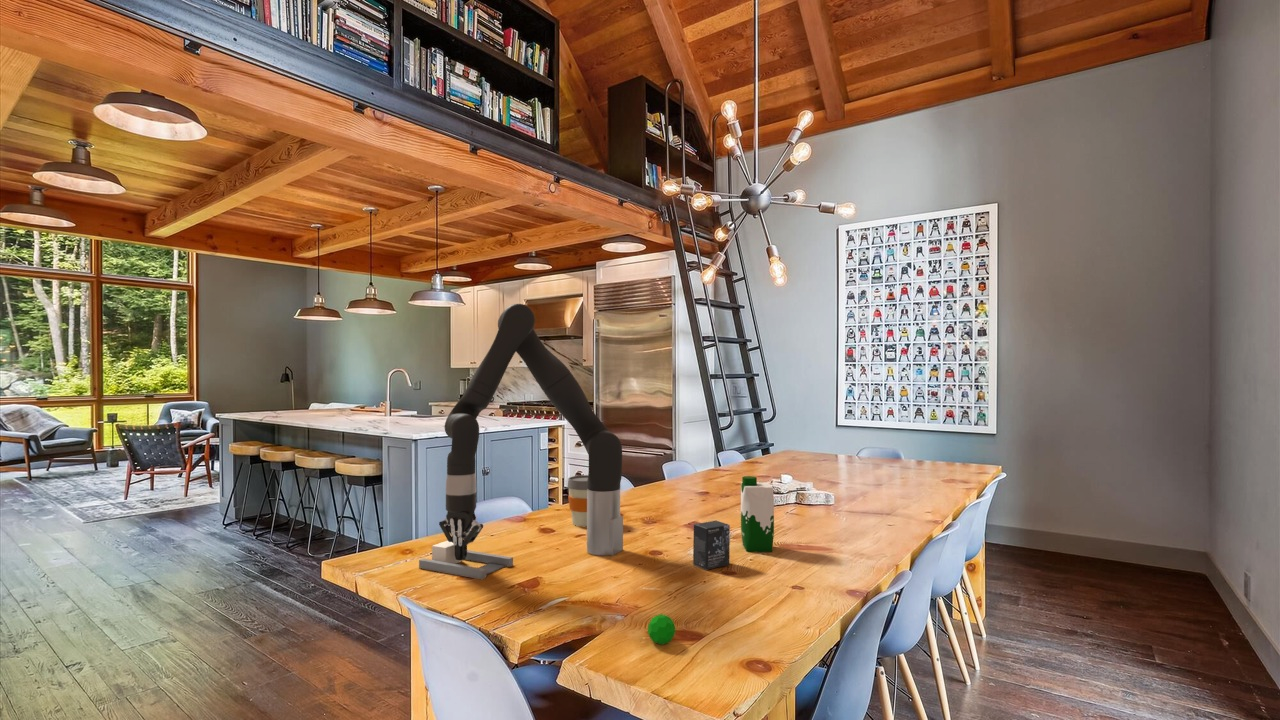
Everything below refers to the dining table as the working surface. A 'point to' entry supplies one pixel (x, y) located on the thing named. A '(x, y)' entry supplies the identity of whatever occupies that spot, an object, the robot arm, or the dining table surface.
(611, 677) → the dining table surface
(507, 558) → the channel
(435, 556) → the block
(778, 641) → the dining table surface
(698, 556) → the box
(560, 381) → the robot arm
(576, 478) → the reusable coffee cup
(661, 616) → the polyhedron
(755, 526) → the milk carton
